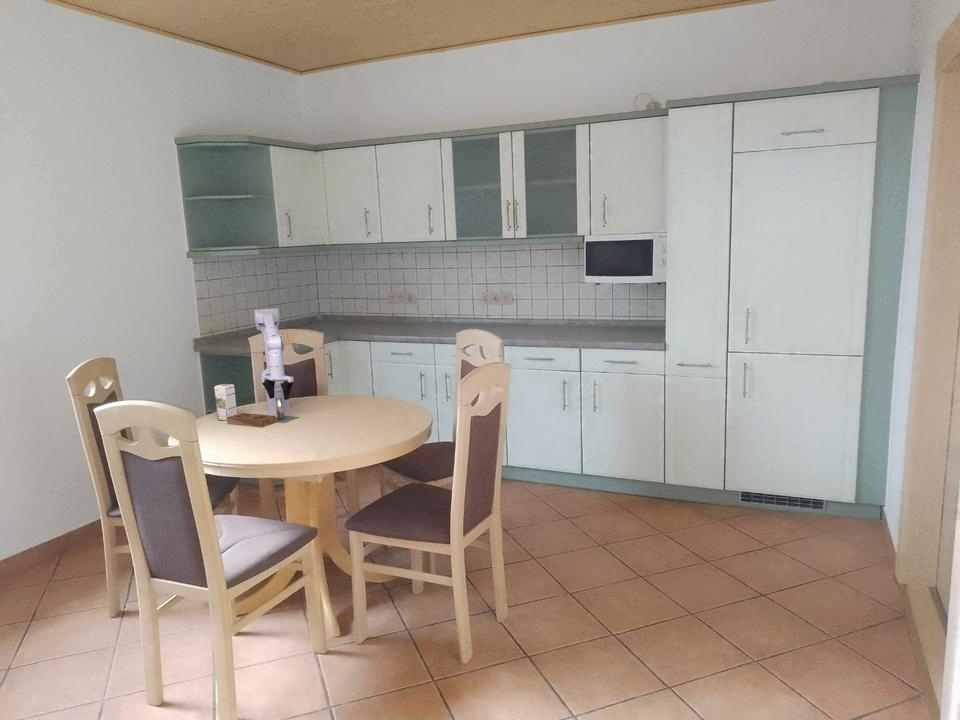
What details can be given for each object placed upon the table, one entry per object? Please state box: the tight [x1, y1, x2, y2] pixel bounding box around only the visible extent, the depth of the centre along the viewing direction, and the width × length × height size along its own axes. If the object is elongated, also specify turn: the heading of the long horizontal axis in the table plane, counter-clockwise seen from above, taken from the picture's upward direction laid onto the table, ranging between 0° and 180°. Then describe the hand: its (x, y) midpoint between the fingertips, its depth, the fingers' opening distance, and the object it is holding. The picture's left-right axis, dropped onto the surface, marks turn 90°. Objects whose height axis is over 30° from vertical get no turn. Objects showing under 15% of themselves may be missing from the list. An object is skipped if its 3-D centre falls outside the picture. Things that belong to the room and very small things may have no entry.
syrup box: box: [213, 383, 238, 422], centre depth 289 cm, size 6×6×14 cm
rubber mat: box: [275, 415, 301, 424], centre depth 285 cm, size 10×10×1 cm
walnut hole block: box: [226, 412, 277, 429], centre depth 281 cm, size 8×18×3 cm, turn 65°
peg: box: [275, 397, 286, 421], centre depth 284 cm, size 3×3×9 cm
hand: (279, 398), depth 283 cm, fingers open, 7 cm apart
